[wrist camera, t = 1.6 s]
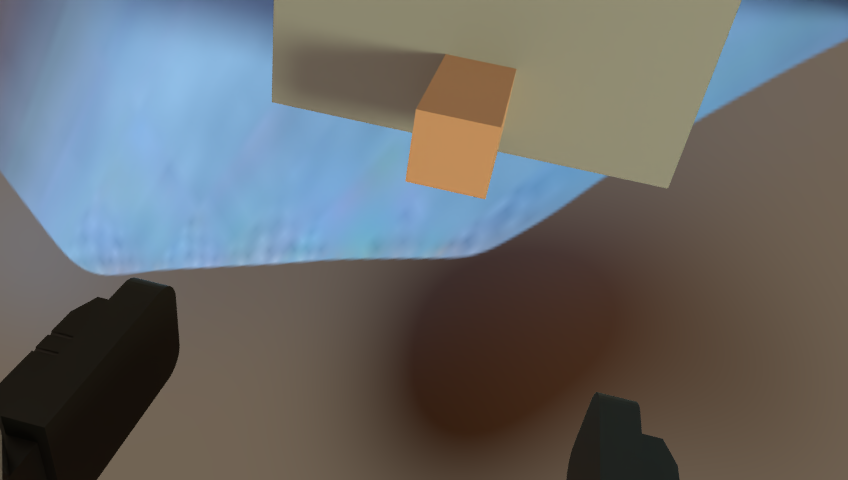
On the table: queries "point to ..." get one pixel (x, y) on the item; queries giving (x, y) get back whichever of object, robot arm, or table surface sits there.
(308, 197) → the table surface
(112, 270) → the table surface
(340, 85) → the grey box lid
